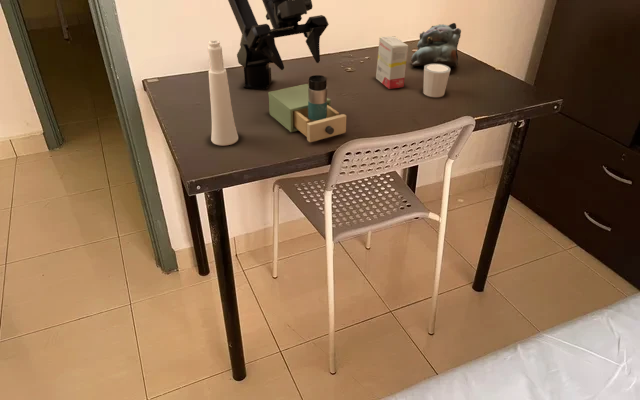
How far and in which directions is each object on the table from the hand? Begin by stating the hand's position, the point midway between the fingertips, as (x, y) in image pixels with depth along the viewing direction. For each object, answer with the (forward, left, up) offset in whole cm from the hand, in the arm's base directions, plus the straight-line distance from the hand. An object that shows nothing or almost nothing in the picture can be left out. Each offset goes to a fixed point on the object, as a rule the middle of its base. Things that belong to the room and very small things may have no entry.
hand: (301, 65), depth 114 cm
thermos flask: (+5, -6, -12) cm, 14 cm away
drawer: (+5, -6, -13) cm, 15 cm away
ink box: (+20, +27, -14) cm, 36 cm away
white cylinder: (+32, +22, -14) cm, 41 cm away
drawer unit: (-1, +1, -13) cm, 14 cm away
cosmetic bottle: (-15, -13, -14) cm, 24 cm away
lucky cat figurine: (+32, +43, -14) cm, 55 cm away
